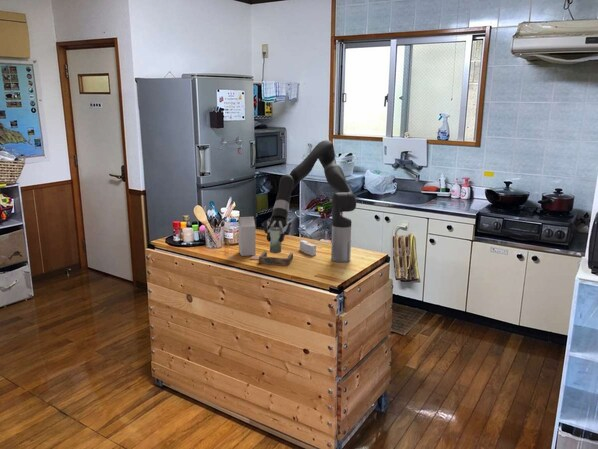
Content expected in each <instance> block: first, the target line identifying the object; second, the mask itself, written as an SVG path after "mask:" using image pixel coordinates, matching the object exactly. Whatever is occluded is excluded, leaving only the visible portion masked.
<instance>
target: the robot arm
mask: <svg viewBox="0 0 598 449" xmlns="http://www.w3.org/2000/svg"><path fill="white" fill-rule="evenodd" d="M318 160H319V162H320V164H321V165H322V168H323V173H324V177H325V180H326V183H327V184H328V186H329V187H331V188H332V189H334V190H335V191H336V192H334V193H333V194H332V198H331V212H332V213H331V214H332V215H331V218H332V220H331V221H332V223H331V224H332V225H331V250H330V251H331V252H330V257H331V258H330V259H331V260H332V261H333V262H338V263H347V262H350V261H351V255H352V254H351V251H352V219H350V218H349V217H345V216H342V215H341V213H343V212H344V213H348V212H353V211H355V210H356V208H357V200H356V196H355V193H354V192H353V191H352V190H353V189H351V187H350V185H349V183H348V181H347V179H346V176H345V172H344V171H343V169H342V167H341V166H340V165H339V164H337V161H336V154H335V147H334V144H333V142H332V141H331V140H328V139H326V140H325V139H324V140H321V141H320V142H318V143H317V145H315V147H313V149H312V150H311V151H310V152H309V154H308V155H307V156H306V157H305V158H304V160H303V161H302V162H300V163H299V164H298V165H297V166H295V167H294V168H293V169H292V170H291V172H290V173H289V174H284V175H282V176H281V177H280V180H279V183H278V192H277V195H276V198H275V203H274V204H273V205H274V206H273V208H272V209H273V210H272V213H271V219H270V220H264V221H263V223H264V224H263V231H264V234H265V235H266V241H267V242H269V243H270V226H281V227H282V229H281V237H280V242H281V243H283V242H284V241H285V236H289V234H290V233H291V230H292V227H293V224H292V222H287V221H288V215H289V212H290V203H291V195H292V191H293V190H295V188H296V187H297V185H299V184H300V182H301V181H302V180H304V179H305V178H306V177H307V176H308V175H309V174H310V173H311V172H312V170H313V168H314V166H315V164H316V163H317V161H318ZM269 225H270V226H269ZM286 226H287V227H286ZM268 227H269V228H268ZM285 227H286V230H285ZM284 230H285V231H284Z"/></svg>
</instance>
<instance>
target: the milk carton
mask: <svg viewBox="0 0 598 449" xmlns="http://www.w3.org/2000/svg"><path fill="white" fill-rule="evenodd" d="M256 246H257V245H256V221H255V216H242V217H241V216H240V217H239V221H238V252H239V254H240V255H241V257H244V256H245V257H247V256H253V255H254V256H257V255H256V249H257V248H256Z"/></svg>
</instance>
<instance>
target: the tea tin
mask: <svg viewBox="0 0 598 449" xmlns="http://www.w3.org/2000/svg"><path fill="white" fill-rule="evenodd" d="M269 228H270V242H269V253H272V254H280V253H282V242H280V237H281V234H282V232H281V229H282V227H281V226H271V225H270V226H269Z"/></svg>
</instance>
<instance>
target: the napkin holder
mask: <svg viewBox="0 0 598 449" xmlns="http://www.w3.org/2000/svg"><path fill="white" fill-rule="evenodd" d="M299 250H300V251H301V252H303V254H304V253H305V254H308V255H309V256H315V255H317V245H316V244H313V243H310V242H309V241H307V240H304V239H303V240H299Z"/></svg>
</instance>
